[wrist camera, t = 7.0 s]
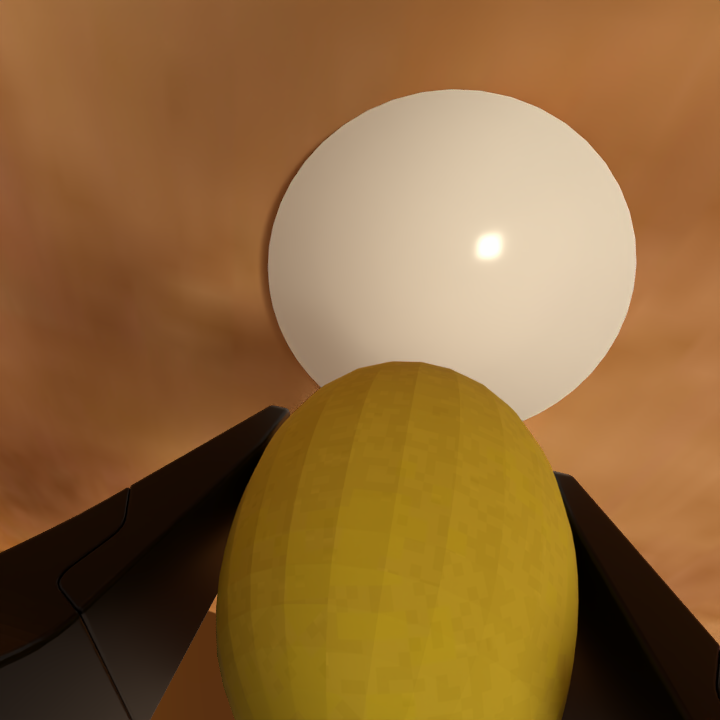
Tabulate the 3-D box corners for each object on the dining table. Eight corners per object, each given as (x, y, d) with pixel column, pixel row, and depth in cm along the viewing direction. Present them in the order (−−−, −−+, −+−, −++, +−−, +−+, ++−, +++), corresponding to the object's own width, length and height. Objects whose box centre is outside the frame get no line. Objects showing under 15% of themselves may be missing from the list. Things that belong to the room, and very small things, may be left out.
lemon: (444, 504, 12) (420, 966, 6) (285, 410, 12) (52, 799, 5) (589, 384, 9) (892, 1052, 3) (385, 251, 9) (140, 681, 2)
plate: (708, 121, 13) (726, 122, 12) (547, 450, 20) (551, 465, 19) (278, 66, 14) (266, 62, 14) (275, 388, 22) (268, 399, 21)
